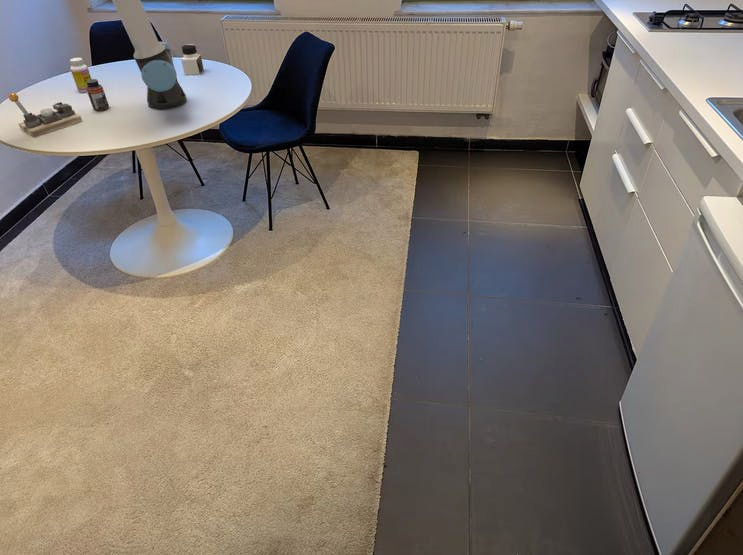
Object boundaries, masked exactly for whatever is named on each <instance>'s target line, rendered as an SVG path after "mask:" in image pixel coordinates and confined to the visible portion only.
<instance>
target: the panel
mask: <svg viewBox="0 0 743 555" xmlns="http://www.w3.org/2000/svg"><path fill="white" fill-rule="evenodd" d="M58 104H63V103H62V102H61V101H60V102H57V103H54V105H58ZM68 105H69V104H68ZM68 105H67V106H64V107H61V108H62V110H63V111H57V110H56V111H55V110H54V109H52V111H53V114H54V116H50V117H47V118H43V117H42V115H41V113H39V114H33V113H32V112H28V113H29V114H30V116H27V117H26V116H25V115H24V114H23V115H22V116H23V118H24V120H23V122H21V123H18V125H19V128H20V130H21V129H22V131H23V130H24V131H23V132H25V133H26V134H28V135H30V136H32V137H33V138H37V137H40V136H43V135H46V134H50V133H52V132H55V131H58V130H60V129H64V128H66V127H70V126H72V125H76V124H78V123H81V122H83V120H82V117H81V115H79V114H76V112H75V110H74V109H72V110H70V109H69V106H68Z"/></svg>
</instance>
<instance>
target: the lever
mask: <svg viewBox="0 0 743 555" xmlns="http://www.w3.org/2000/svg"><path fill="white" fill-rule="evenodd" d="M19 98H20V97H19V95H18V94H17V93H15V92H10V93H9V94H8V100H9V101H10V102H14V104H16V106H17V108H18V109H20V111H21V112H22V113H23V115H25V116H26V117H27V116H30V114H29V113H30V112H28V110H26V108H25V106H23V104H22V103H21V102H20V100H19Z"/></svg>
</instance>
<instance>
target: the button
mask: <svg viewBox="0 0 743 555" xmlns="http://www.w3.org/2000/svg"><path fill="white" fill-rule="evenodd" d="M52 110H53V108H43V109H41V110H40V111H39V112H40V113H39V114H41V115H42V117H43V118H47V117H50V116H54V114H53V111H54V110H53V111H52Z"/></svg>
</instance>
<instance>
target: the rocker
mask: <svg viewBox="0 0 743 555" xmlns="http://www.w3.org/2000/svg"><path fill="white" fill-rule="evenodd" d="M67 105H68V106H69V109H70V110H73V107H72V106H71V105H70V104H68V103H62V104H58V105H55V104H53V105H52V110H54V111H55V110H56V111H63V110H62V108H61V107H64V106H67Z"/></svg>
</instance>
